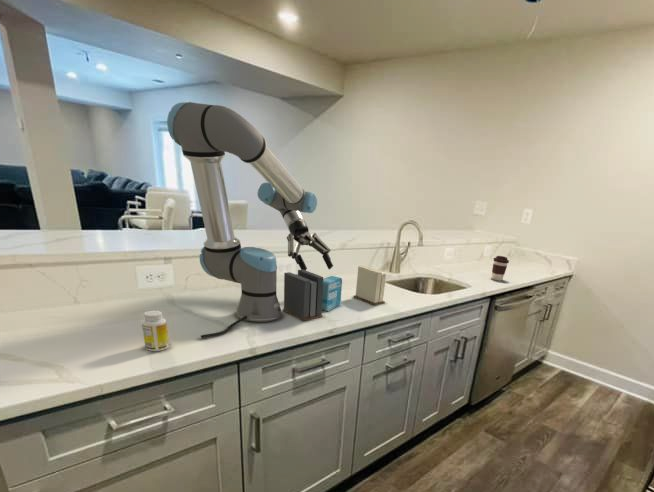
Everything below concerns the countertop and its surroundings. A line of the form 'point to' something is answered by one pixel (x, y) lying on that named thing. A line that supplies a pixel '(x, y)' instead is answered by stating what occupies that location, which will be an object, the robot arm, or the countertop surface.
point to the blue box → (331, 292)
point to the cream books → (370, 285)
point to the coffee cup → (499, 267)
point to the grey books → (303, 294)
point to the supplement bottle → (155, 331)
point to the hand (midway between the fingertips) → (318, 269)
